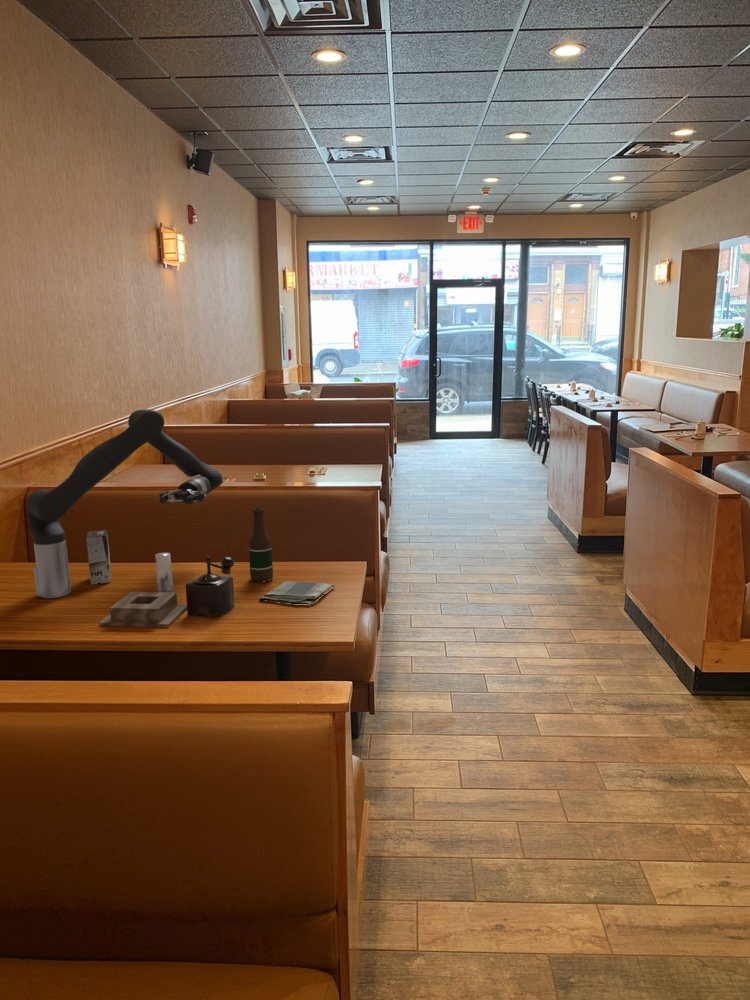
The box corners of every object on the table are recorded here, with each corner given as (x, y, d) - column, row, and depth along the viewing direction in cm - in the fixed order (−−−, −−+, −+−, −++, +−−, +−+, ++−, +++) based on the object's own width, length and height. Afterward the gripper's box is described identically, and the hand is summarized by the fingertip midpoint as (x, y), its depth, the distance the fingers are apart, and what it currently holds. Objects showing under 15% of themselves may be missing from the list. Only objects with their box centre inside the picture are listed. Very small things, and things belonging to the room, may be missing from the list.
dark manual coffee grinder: (184, 616, 218) (180, 555, 214) (204, 603, 228) (200, 545, 225) (233, 621, 213) (229, 559, 210) (251, 608, 224) (248, 549, 220)
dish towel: (284, 585, 246) (284, 575, 245) (335, 590, 240) (335, 580, 239) (257, 603, 229) (256, 593, 228) (311, 609, 223) (311, 599, 222)
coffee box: (111, 582, 250) (106, 535, 247) (90, 585, 248) (85, 537, 245) (111, 575, 259) (107, 529, 255) (91, 577, 257) (87, 531, 253)
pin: (156, 600, 232) (153, 556, 229) (162, 595, 236) (158, 552, 233) (170, 600, 231) (167, 556, 228) (175, 596, 236) (172, 552, 233)
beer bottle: (245, 579, 251) (241, 508, 246) (266, 574, 256) (263, 505, 251) (256, 584, 245) (253, 512, 240) (277, 580, 250) (274, 508, 245)
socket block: (99, 625, 211) (97, 608, 210) (124, 606, 227) (122, 590, 226) (168, 627, 209) (167, 610, 208) (188, 607, 225) (187, 591, 224)
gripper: (171, 479, 257) (152, 488, 241) (212, 479, 255) (196, 489, 239) (172, 501, 258) (154, 512, 242) (213, 501, 257) (197, 512, 241)
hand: (175, 500), depth 241 cm, fingers open, 8 cm apart
